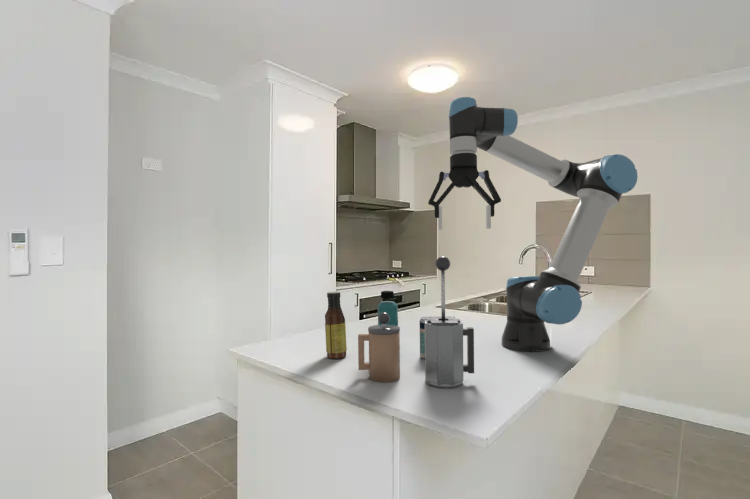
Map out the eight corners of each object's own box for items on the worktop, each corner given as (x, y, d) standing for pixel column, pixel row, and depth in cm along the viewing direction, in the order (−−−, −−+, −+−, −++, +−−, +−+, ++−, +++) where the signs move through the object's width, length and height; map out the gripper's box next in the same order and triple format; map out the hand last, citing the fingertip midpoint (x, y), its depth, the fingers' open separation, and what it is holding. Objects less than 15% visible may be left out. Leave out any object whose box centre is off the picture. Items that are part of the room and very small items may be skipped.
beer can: (437, 356, 123) (436, 317, 123) (434, 360, 118) (433, 319, 118) (421, 354, 124) (421, 316, 124) (418, 359, 120) (417, 319, 120)
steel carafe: (470, 376, 104) (470, 316, 104) (476, 389, 95) (476, 323, 95) (424, 375, 105) (424, 316, 105) (426, 388, 96) (425, 323, 96)
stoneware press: (400, 372, 108) (399, 309, 108) (400, 382, 100) (399, 315, 100) (360, 371, 109) (360, 309, 109) (357, 382, 101) (356, 315, 101)
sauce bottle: (350, 355, 125) (349, 291, 125) (340, 360, 119) (339, 293, 119) (332, 352, 128) (331, 290, 128) (321, 358, 122) (320, 293, 122)
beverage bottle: (397, 358, 121) (396, 292, 120) (375, 357, 122) (374, 292, 122) (400, 352, 127) (399, 289, 127) (379, 352, 128) (379, 289, 128)
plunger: (455, 332, 103) (454, 255, 103) (458, 338, 97) (457, 256, 96) (429, 332, 103) (429, 256, 103) (431, 338, 97) (430, 257, 97)
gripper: (505, 155, 117) (505, 228, 118) (419, 158, 120) (420, 230, 120) (511, 149, 110) (512, 227, 110) (419, 153, 112) (420, 229, 112)
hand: (464, 229), depth 115 cm, fingers open, 13 cm apart
